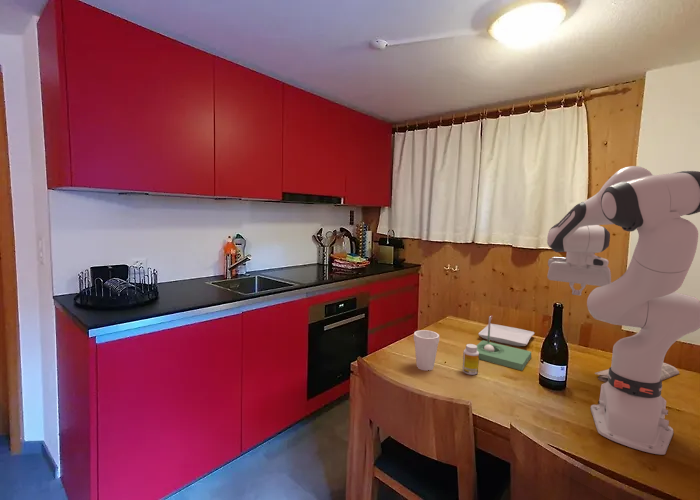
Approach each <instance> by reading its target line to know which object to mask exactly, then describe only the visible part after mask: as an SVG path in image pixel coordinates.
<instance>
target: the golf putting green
mask: <svg viewBox="0 0 700 500" xmlns="http://www.w3.org/2000/svg"><path fill="white" fill-rule="evenodd" d="M488 344H489V345H492V346H493V347H494V352H490V351H486V350H484V347H485V345H488ZM475 345H476V346H477V351H478V352H479V361H480V360H481V361H485V362H488V363H493V364H496V365H500V366H503V367H507V368H511V369H515V370H518V371H523V370H524V369H525V367H526V366H527V364H528V363H529V361H530V360H531V358H532V351H530V350H526V349H521V348H517V347H514V346H513V347H512V346H510V345H506V344H502V343H497V342H493V341H489V343H487V340H484V339H483V340H481V341H480V342H479V343H477V344H475Z"/></svg>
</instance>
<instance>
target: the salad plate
mask: <svg viewBox="0 0 700 500" xmlns="http://www.w3.org/2000/svg"><path fill="white" fill-rule="evenodd" d="M534 335H535V332H534V331H531V330H526V329H523V328H517V327H513V326H507V325H501V324H495V323H491V324H490V339H489V341H490V340H491V341H490V342H494V341H495V342H494V343H498V344H502V345H507V346H513V347H526V346H527V345H528V343H529V342H530V341H531V338H532V337H533V336H534ZM478 336H479V337H480V338H482V339H483V340H484V339H485V340H486V341H487V340H488V324H487V325H486V326H485V327H484V328H483V329H482V330H481V331H479V332H478Z"/></svg>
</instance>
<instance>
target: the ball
mask: <svg viewBox="0 0 700 500" xmlns="http://www.w3.org/2000/svg"><path fill="white" fill-rule="evenodd" d="M484 350H486V351H490V352H494V347H493V346H492V345H489V344H488V345H485V347H484Z"/></svg>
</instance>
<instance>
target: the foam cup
mask: <svg viewBox="0 0 700 500" xmlns="http://www.w3.org/2000/svg"><path fill="white" fill-rule="evenodd" d="M413 341H414V351H415V363H416V367H418V368H417V369H419V370H421V371H426V372H427V371H428V370H429V371H432V370H434V367H435V362H436V356H437V351H438V345H439V343H440V334H439V333H437V332H435V331H433V330H427V329H423V330H422V329H421V330H416V331H414V333H413Z"/></svg>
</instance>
